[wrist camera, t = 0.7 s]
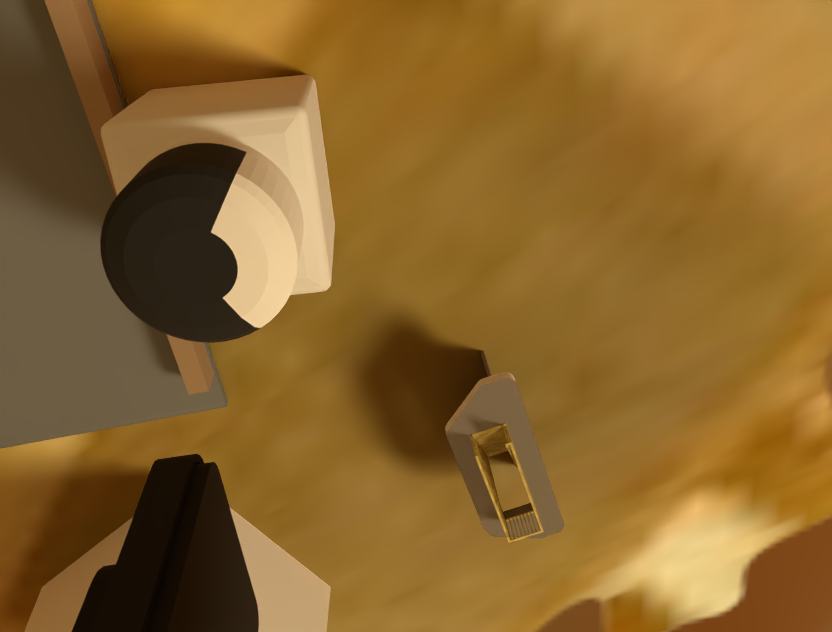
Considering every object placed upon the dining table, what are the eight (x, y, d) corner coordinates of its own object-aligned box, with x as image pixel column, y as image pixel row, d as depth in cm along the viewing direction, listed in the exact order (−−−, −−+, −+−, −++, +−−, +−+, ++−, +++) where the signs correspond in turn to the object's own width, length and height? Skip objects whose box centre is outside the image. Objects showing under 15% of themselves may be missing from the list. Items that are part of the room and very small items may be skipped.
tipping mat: (48, -127, 28) (28, -131, 26) (227, 402, 39) (221, 424, 37) (-291, -62, 28) (-334, -62, 27) (-18, 447, 39) (-36, 472, 37)
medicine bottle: (183, 245, 35) (108, 379, 24) (146, 88, 32) (41, 163, 21) (336, 229, 35) (328, 356, 25) (314, 72, 32) (295, 138, 21)
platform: (435, 558, 46) (447, 649, 40) (320, 308, 38) (314, 377, 32) (626, 498, 45) (667, 582, 39) (550, 228, 37) (587, 283, 31)
